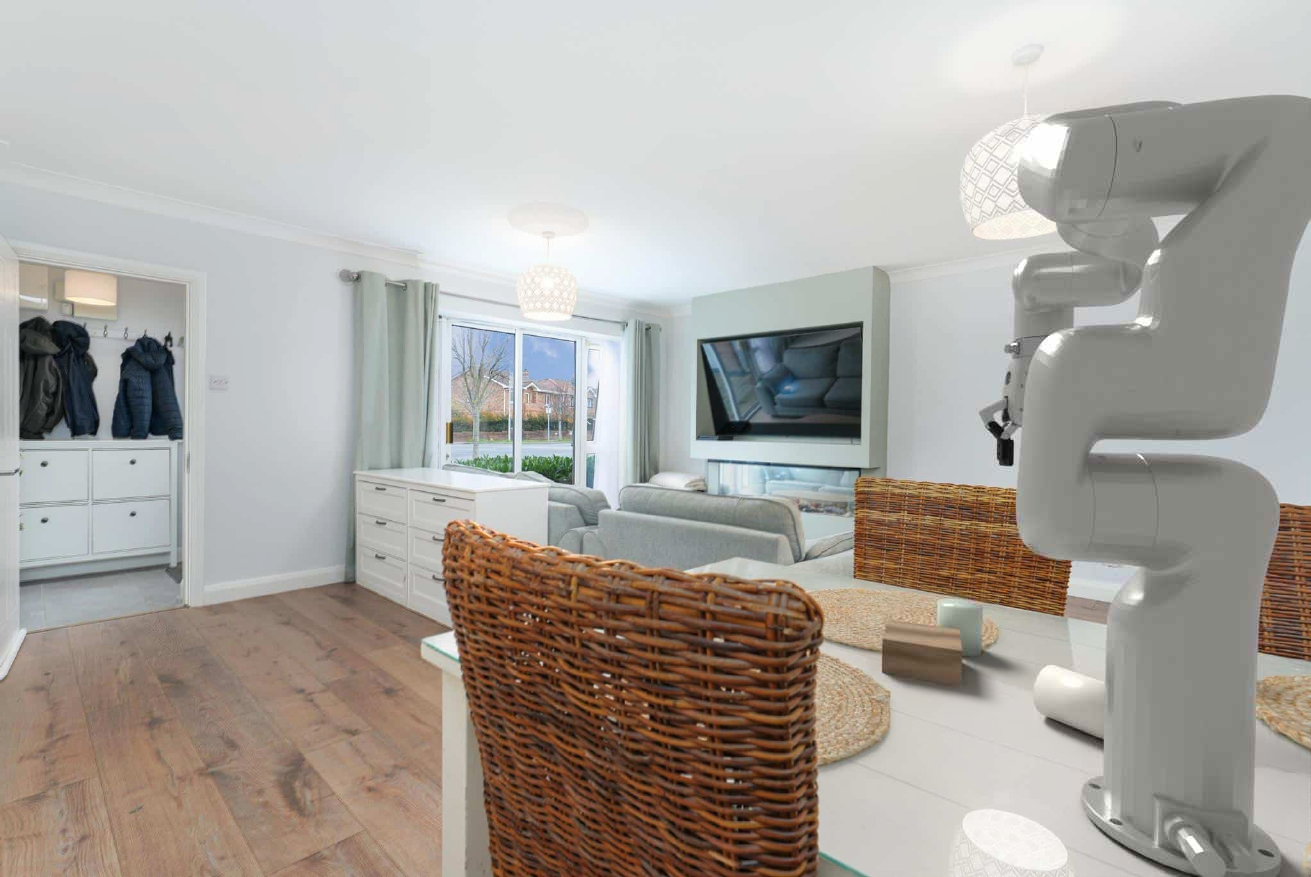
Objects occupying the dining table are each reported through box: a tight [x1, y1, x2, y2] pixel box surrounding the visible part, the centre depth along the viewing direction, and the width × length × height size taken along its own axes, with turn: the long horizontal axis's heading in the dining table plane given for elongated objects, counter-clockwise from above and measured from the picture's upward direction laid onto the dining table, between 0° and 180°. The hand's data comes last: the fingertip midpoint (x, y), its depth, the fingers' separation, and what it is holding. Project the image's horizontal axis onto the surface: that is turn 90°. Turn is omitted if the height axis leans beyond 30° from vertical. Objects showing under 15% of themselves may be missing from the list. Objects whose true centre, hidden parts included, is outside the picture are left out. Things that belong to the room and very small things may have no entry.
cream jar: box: [1032, 664, 1105, 741], centre depth 68 cm, size 6×6×9 cm
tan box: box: [881, 619, 963, 687], centre depth 87 cm, size 10×10×5 cm
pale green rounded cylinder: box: [936, 598, 984, 657], centre depth 95 cm, size 6×6×7 cm
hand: (1040, 466), depth 90 cm, fingers open, 9 cm apart
